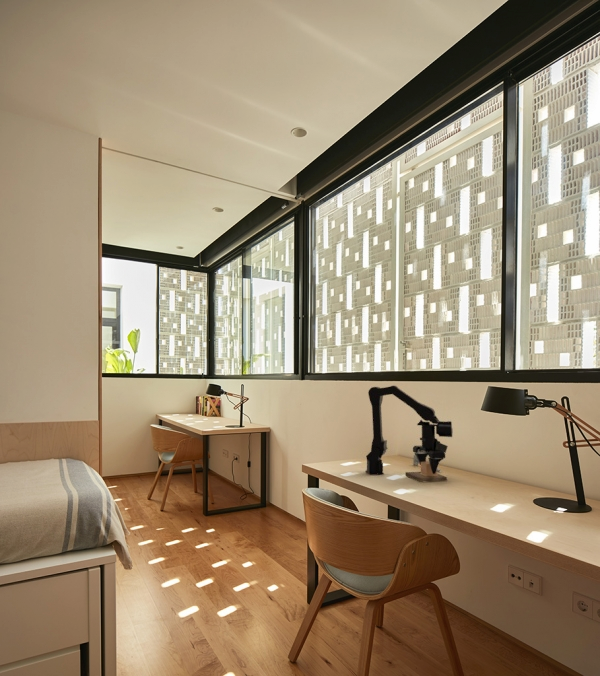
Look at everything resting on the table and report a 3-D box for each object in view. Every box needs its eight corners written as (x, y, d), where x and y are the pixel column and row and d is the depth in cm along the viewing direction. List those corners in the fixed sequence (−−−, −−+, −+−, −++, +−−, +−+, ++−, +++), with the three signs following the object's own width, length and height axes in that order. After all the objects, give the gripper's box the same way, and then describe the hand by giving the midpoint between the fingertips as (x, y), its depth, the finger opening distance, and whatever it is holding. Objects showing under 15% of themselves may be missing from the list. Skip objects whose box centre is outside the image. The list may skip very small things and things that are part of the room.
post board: (419, 481, 195) (419, 468, 196) (405, 475, 208) (405, 463, 208) (446, 480, 198) (446, 467, 199) (431, 474, 211) (431, 462, 211)
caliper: (413, 465, 234) (412, 453, 235) (414, 465, 234) (414, 453, 235) (440, 473, 215) (440, 459, 216) (442, 473, 216) (442, 459, 216)
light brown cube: (426, 475, 201) (426, 464, 201) (420, 473, 206) (420, 461, 206) (436, 475, 202) (436, 463, 202) (431, 472, 207) (430, 461, 207)
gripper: (456, 438, 198) (456, 475, 197) (433, 433, 216) (434, 467, 215) (432, 438, 195) (433, 476, 194) (412, 433, 213) (412, 467, 212)
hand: (428, 471), depth 204 cm, fingers open, 9 cm apart
